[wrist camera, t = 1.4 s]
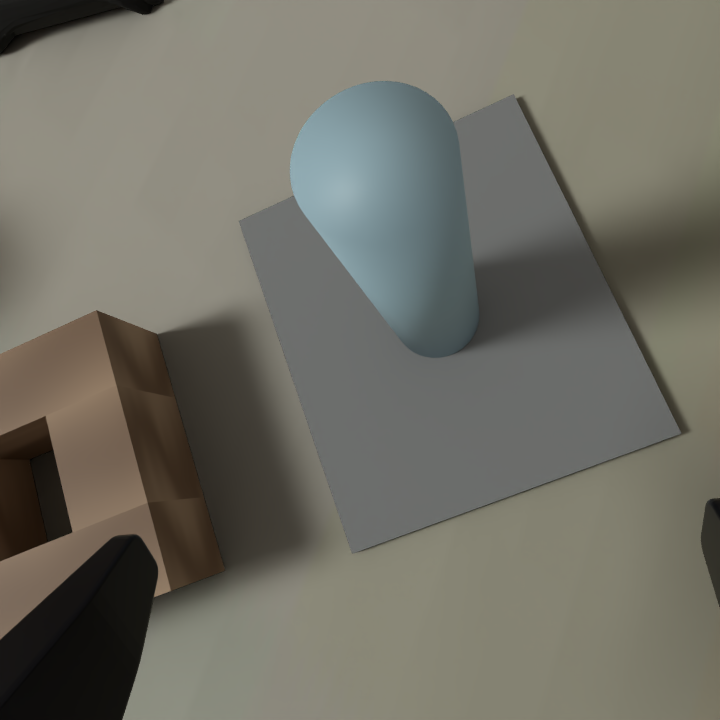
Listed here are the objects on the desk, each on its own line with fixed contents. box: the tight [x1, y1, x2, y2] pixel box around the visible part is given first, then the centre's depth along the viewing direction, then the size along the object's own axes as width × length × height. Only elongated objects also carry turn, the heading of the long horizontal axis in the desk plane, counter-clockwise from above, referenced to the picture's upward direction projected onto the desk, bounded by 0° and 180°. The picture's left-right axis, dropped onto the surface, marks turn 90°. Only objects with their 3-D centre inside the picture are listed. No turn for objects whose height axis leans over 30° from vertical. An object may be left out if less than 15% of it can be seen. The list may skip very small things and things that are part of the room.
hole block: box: [0, 310, 225, 639], centre depth 23 cm, size 10×10×4 cm
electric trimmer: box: [0, 0, 164, 52], centre depth 29 cm, size 4×16×3 cm, turn 97°
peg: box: [290, 81, 479, 358], centre depth 17 cm, size 3×3×12 cm
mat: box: [239, 94, 681, 554], centre depth 23 cm, size 14×12×1 cm
